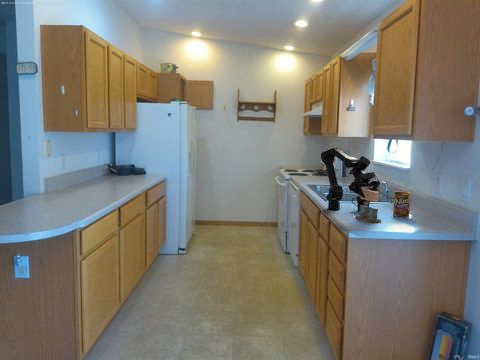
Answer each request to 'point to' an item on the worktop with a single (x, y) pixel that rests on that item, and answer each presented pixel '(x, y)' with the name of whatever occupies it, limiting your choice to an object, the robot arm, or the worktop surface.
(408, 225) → the worktop surface
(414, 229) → the worktop surface
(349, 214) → the worktop surface
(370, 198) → the tan wooden block
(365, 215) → the ticket stand
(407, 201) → the candy box
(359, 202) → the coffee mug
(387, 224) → the worktop surface
